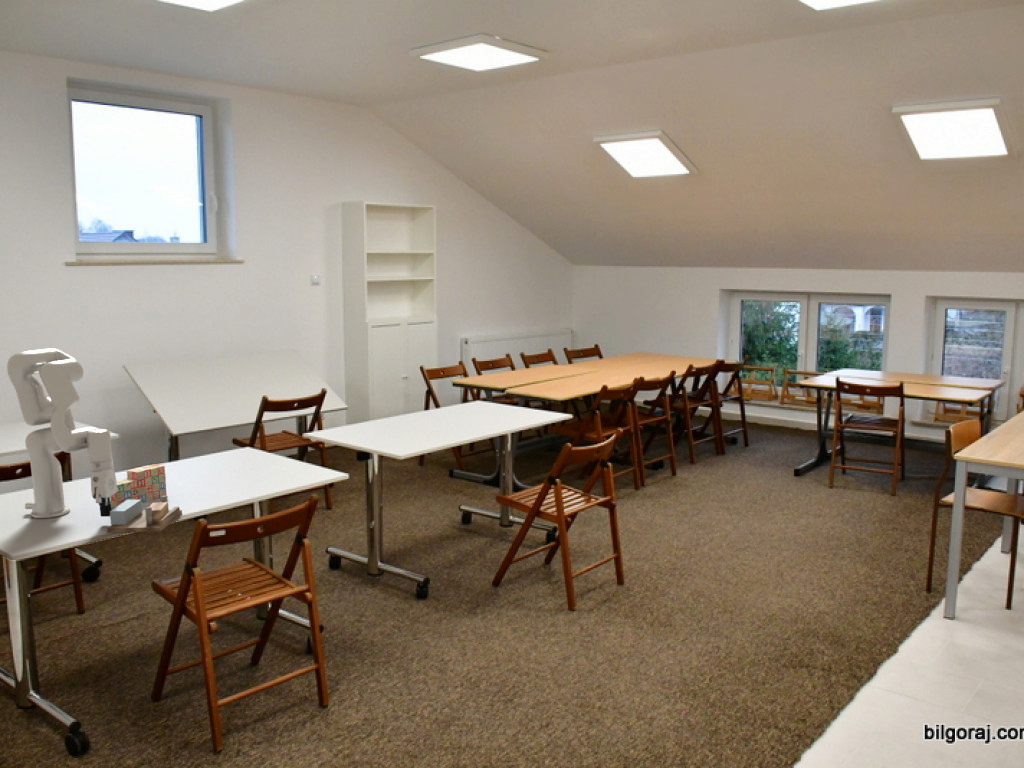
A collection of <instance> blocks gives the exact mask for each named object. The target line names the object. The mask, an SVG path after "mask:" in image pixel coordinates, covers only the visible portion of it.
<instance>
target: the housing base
mask: <svg viewBox="0 0 1024 768" xmlns="http://www.w3.org/2000/svg"><path fill="white" fill-rule="evenodd" d="M160 498H161V499H160V500H161V501H160V502H168V495H167V496H161V497H160ZM168 503H169V502H168ZM144 509H145V510H142V513H141V514H139V515H138V516H137V517H135V518H134V519H133V520H131V521H130V522H128V523H127V524H126V525H111V524H110V526H108V527H107V528H106V531H107V533H140V532H141V533H143V532H145V533H146V532H147V533H148V532H149V533H151V532H152V533H153V532H158V533H159V532H162V531H163V530H164V529H166V528H167V527H168V526H170V524H172V523H173V522H174V521H175V520H176V519H178V518H179V517H180V516H181V515H183V510H182V509H180V506H174V507H173V508H172V509H169V512H168V513H167V514H165V515H164V516H163V517H161V518H160V519H159V520H158V523H153V519H152V507H150V506H148V507H147V506H146V507H145V508H144ZM145 511H146V513H145Z"/></svg>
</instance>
